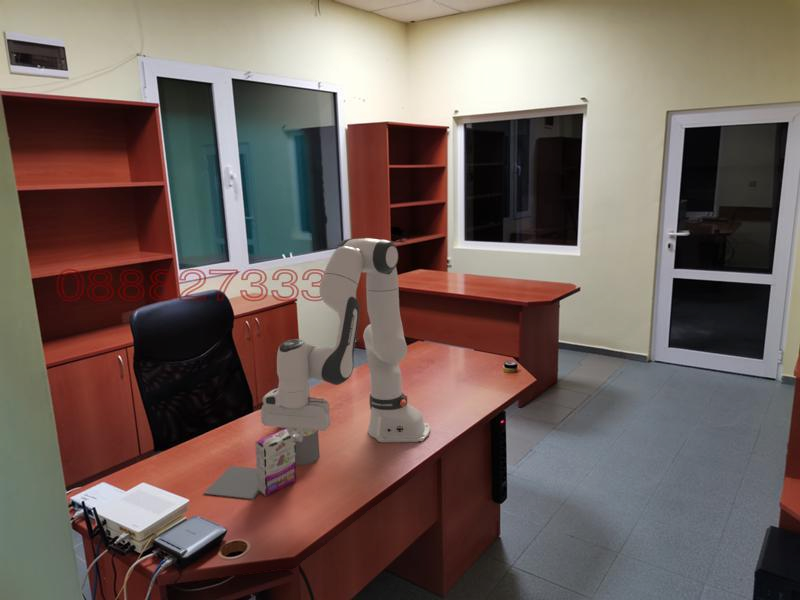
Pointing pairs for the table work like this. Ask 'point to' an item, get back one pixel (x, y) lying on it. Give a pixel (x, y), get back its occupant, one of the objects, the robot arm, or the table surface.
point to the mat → (236, 483)
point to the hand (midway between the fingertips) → (296, 441)
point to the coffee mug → (307, 447)
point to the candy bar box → (275, 462)
